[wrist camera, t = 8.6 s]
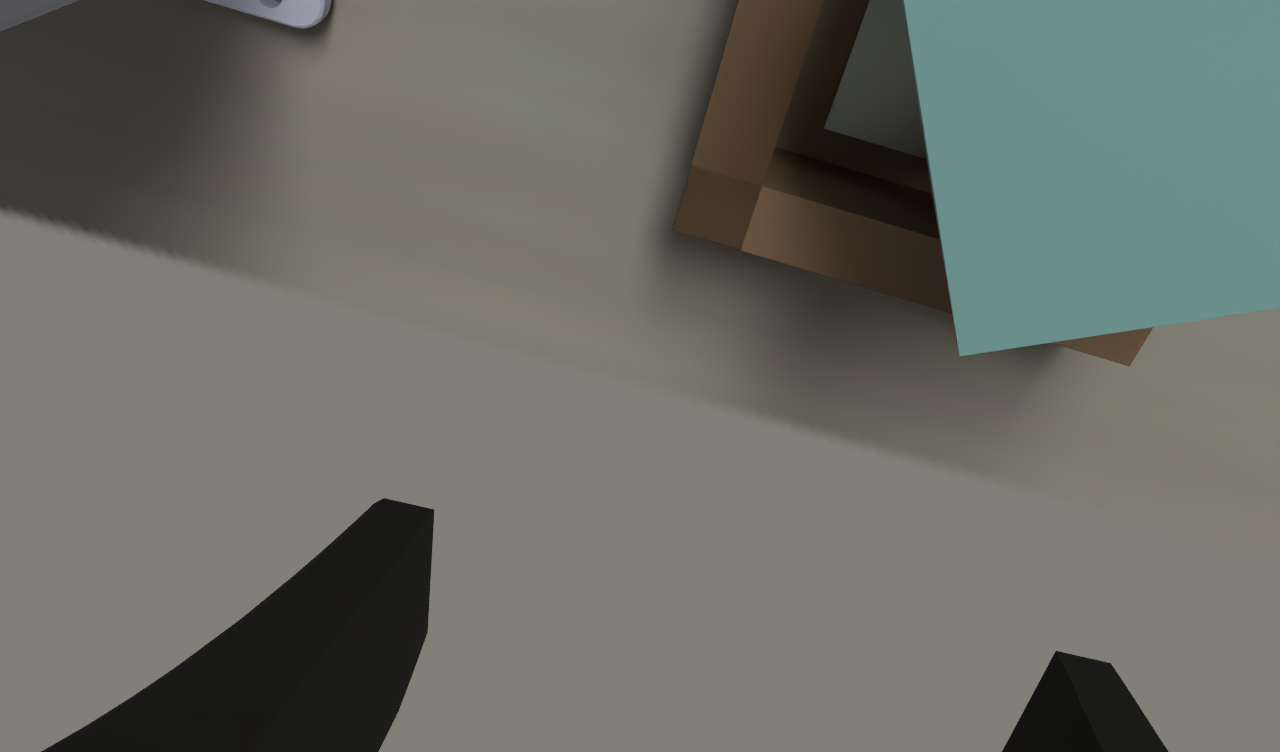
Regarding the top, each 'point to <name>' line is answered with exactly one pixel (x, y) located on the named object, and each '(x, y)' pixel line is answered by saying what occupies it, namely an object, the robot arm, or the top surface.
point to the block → (1100, 162)
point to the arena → (828, 154)
